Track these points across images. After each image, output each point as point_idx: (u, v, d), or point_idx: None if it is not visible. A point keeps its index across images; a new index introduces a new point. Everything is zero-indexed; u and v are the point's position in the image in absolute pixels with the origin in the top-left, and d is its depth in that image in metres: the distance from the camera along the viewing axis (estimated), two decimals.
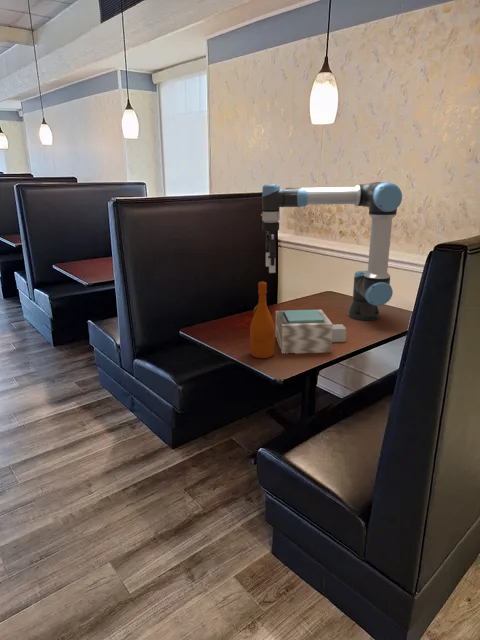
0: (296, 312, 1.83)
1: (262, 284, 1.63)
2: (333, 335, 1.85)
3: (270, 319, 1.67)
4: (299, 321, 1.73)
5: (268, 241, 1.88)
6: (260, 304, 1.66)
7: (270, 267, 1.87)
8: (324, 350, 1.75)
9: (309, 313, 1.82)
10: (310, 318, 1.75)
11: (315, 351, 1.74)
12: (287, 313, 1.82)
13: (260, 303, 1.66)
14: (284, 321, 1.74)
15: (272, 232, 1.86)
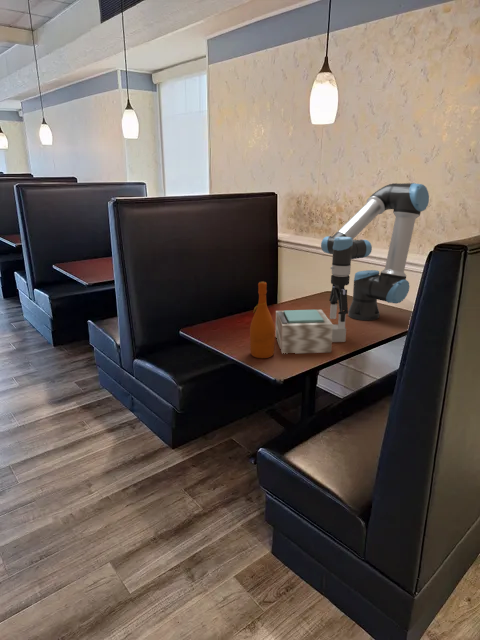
0: (296, 312, 1.83)
1: (262, 284, 1.63)
2: (333, 335, 1.85)
3: (270, 319, 1.67)
4: (299, 321, 1.73)
5: (338, 296, 1.78)
6: (260, 304, 1.66)
7: (339, 323, 1.78)
8: (324, 350, 1.75)
9: (309, 313, 1.82)
10: (310, 318, 1.75)
11: (315, 351, 1.74)
12: (287, 313, 1.82)
13: (260, 303, 1.66)
14: (284, 321, 1.74)
15: (343, 287, 1.77)
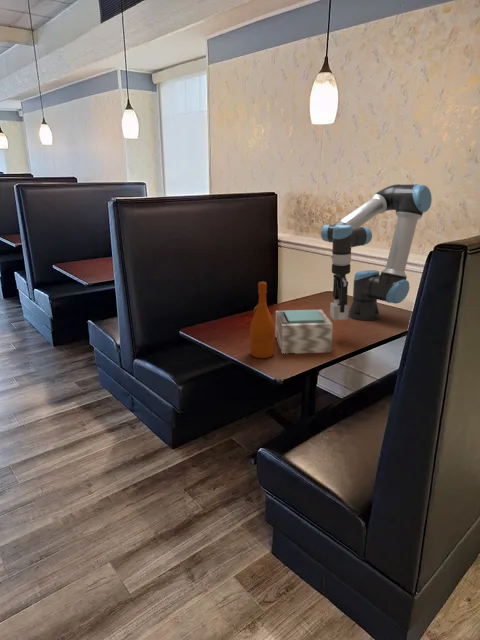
0: (296, 312, 1.83)
1: (262, 284, 1.63)
2: (335, 313, 1.82)
3: (270, 319, 1.67)
4: (299, 321, 1.73)
5: (338, 286, 1.78)
6: (260, 304, 1.66)
7: (339, 314, 1.81)
8: (324, 350, 1.75)
9: (309, 313, 1.82)
10: (310, 318, 1.75)
11: (315, 351, 1.74)
12: (287, 313, 1.82)
13: (260, 303, 1.66)
14: (284, 321, 1.74)
15: (344, 275, 1.76)
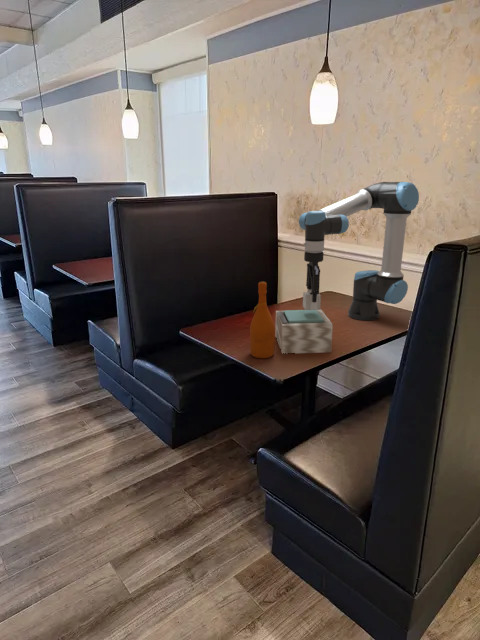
0: (296, 312, 1.83)
1: (262, 284, 1.63)
2: (307, 302, 1.75)
3: (270, 319, 1.67)
4: (299, 321, 1.73)
5: (311, 274, 1.72)
6: (260, 304, 1.66)
7: (311, 304, 1.75)
8: (324, 350, 1.75)
9: (309, 313, 1.82)
10: (310, 318, 1.75)
11: (315, 351, 1.74)
12: (287, 313, 1.82)
13: (260, 303, 1.66)
14: (284, 321, 1.74)
15: (316, 263, 1.69)
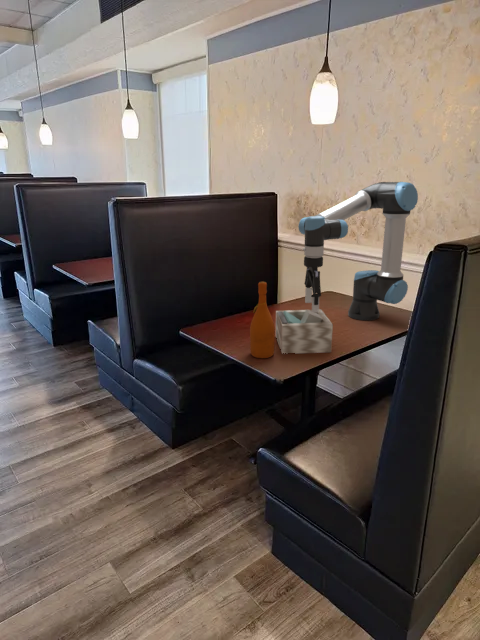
0: (294, 318, 1.84)
1: (262, 284, 1.63)
2: (307, 320, 1.78)
3: (270, 319, 1.67)
4: None
5: (311, 278, 1.71)
6: (260, 304, 1.66)
7: (313, 306, 1.71)
8: (324, 350, 1.75)
9: None
10: None
11: (315, 351, 1.74)
12: (288, 314, 1.82)
13: (260, 303, 1.66)
14: (284, 321, 1.74)
15: (316, 268, 1.70)
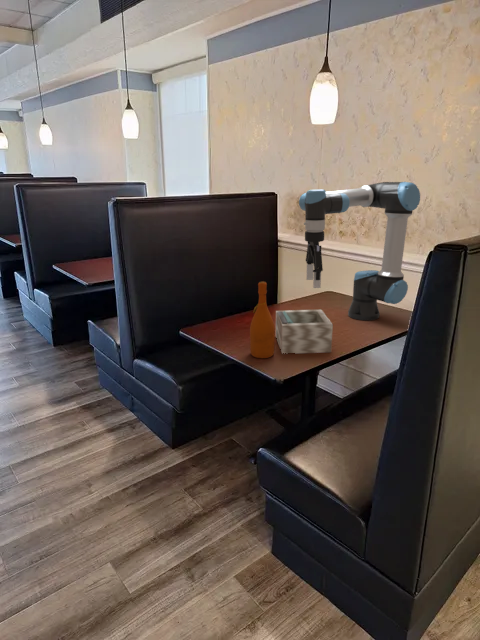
0: (292, 321, 1.85)
1: (262, 284, 1.63)
2: None
3: (270, 319, 1.67)
4: None
5: (312, 253, 1.68)
6: (260, 304, 1.66)
7: (315, 282, 1.68)
8: (324, 350, 1.75)
9: None
10: None
11: (315, 351, 1.74)
12: (287, 315, 1.82)
13: (260, 303, 1.66)
14: (284, 321, 1.74)
15: (317, 243, 1.67)
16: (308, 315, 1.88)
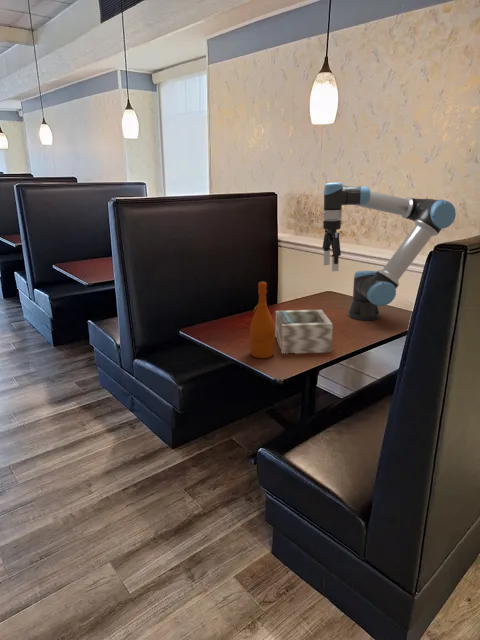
0: (292, 321, 1.85)
1: (262, 284, 1.63)
2: None
3: (270, 319, 1.67)
4: None
5: (330, 239, 1.87)
6: (260, 304, 1.66)
7: (333, 266, 1.87)
8: (324, 350, 1.75)
9: None
10: None
11: (315, 351, 1.74)
12: (287, 315, 1.82)
13: (260, 303, 1.66)
14: (284, 321, 1.74)
15: (335, 230, 1.86)
16: (308, 315, 1.88)
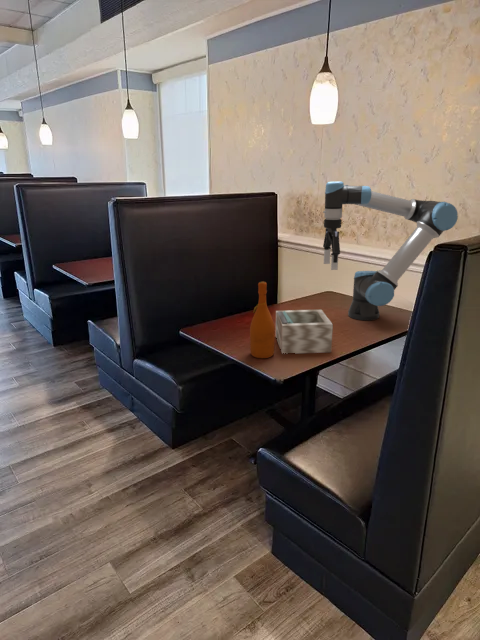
0: (292, 321, 1.85)
1: (262, 284, 1.63)
2: None
3: (270, 319, 1.67)
4: None
5: (330, 238, 1.88)
6: (260, 304, 1.66)
7: (332, 264, 1.88)
8: (324, 350, 1.75)
9: None
10: None
11: (315, 351, 1.74)
12: (287, 315, 1.82)
13: (260, 303, 1.66)
14: (284, 321, 1.74)
15: (335, 229, 1.87)
16: (308, 315, 1.88)
